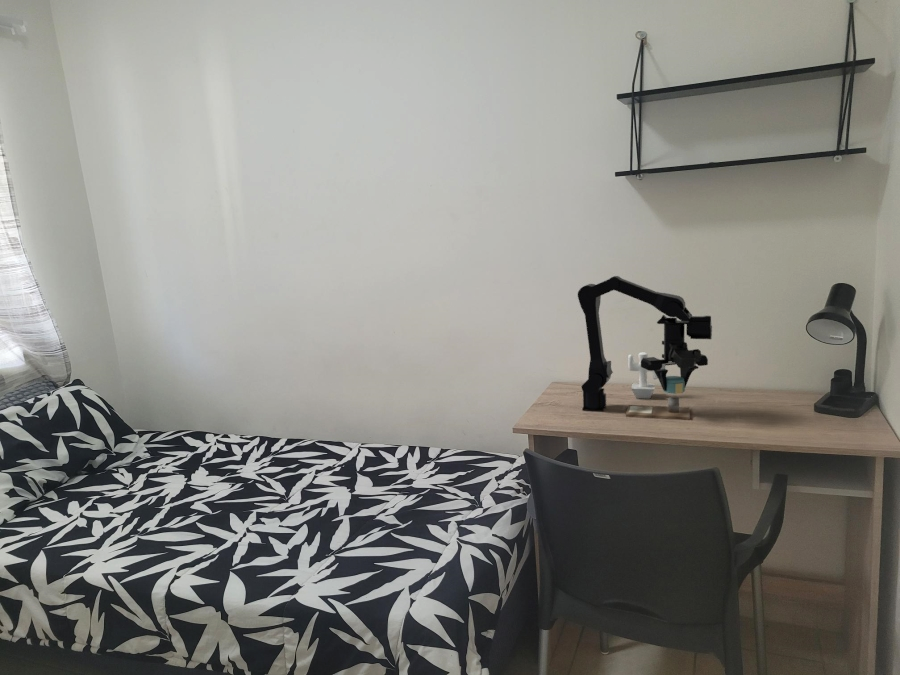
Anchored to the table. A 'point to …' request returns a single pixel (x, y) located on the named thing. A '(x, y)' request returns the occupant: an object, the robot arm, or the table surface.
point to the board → (660, 411)
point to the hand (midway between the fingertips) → (674, 389)
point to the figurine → (641, 378)
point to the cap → (675, 384)
